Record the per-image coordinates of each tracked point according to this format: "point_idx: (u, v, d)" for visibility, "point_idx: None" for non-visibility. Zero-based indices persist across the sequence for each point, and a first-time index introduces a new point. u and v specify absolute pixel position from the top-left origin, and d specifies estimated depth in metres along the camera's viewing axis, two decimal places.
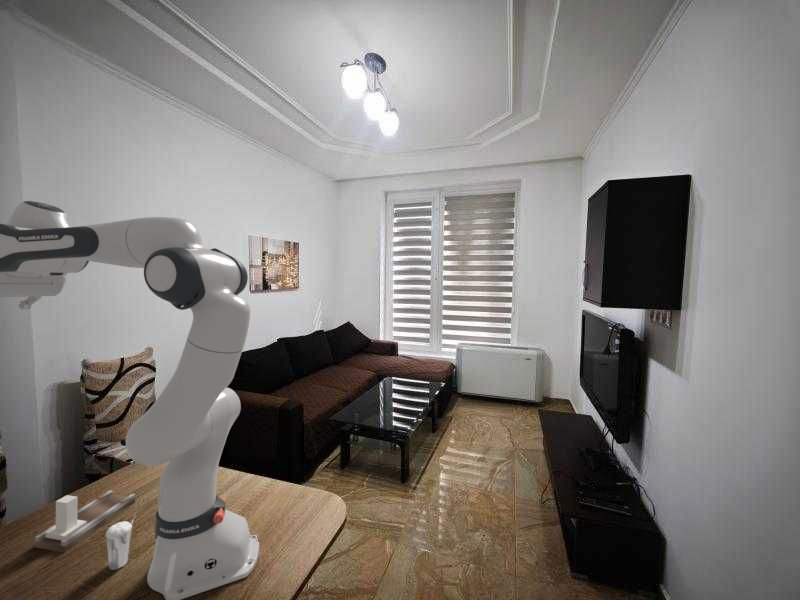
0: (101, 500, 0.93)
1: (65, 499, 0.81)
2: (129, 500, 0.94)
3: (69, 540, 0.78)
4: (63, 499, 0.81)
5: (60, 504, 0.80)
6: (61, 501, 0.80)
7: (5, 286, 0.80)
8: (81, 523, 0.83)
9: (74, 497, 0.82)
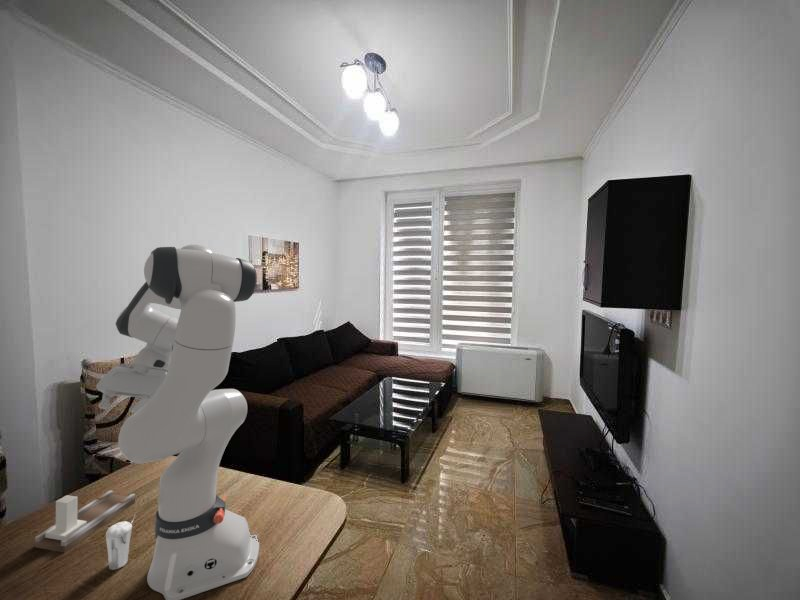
0: (101, 500, 0.93)
1: (65, 499, 0.81)
2: (129, 500, 0.94)
3: (69, 540, 0.78)
4: (63, 499, 0.81)
5: (60, 504, 0.80)
6: (61, 501, 0.80)
7: (126, 379, 0.97)
8: (81, 523, 0.83)
9: (74, 497, 0.82)
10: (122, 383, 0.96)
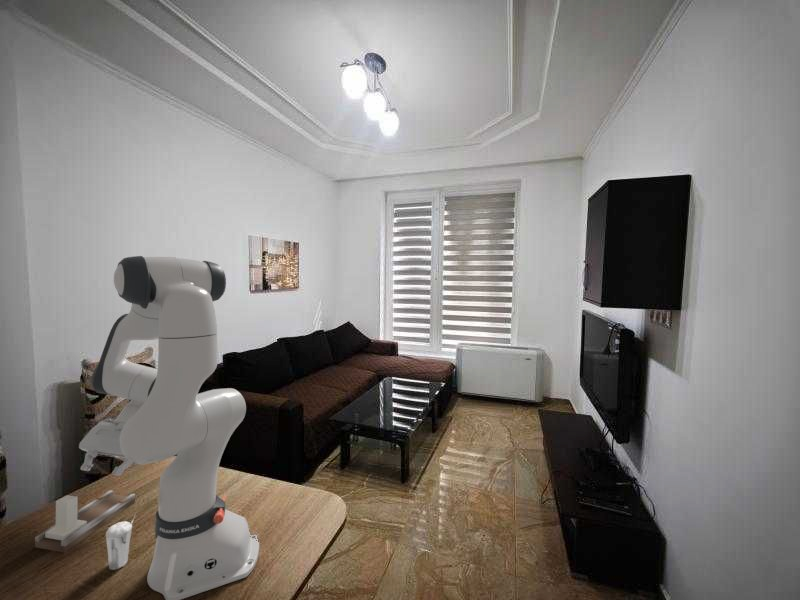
0: (101, 500, 0.93)
1: (65, 499, 0.81)
2: (129, 500, 0.94)
3: (69, 540, 0.78)
4: (63, 499, 0.81)
5: (60, 504, 0.80)
6: (61, 501, 0.80)
7: (110, 438, 0.93)
8: (81, 523, 0.83)
9: (74, 497, 0.82)
10: (106, 442, 0.92)
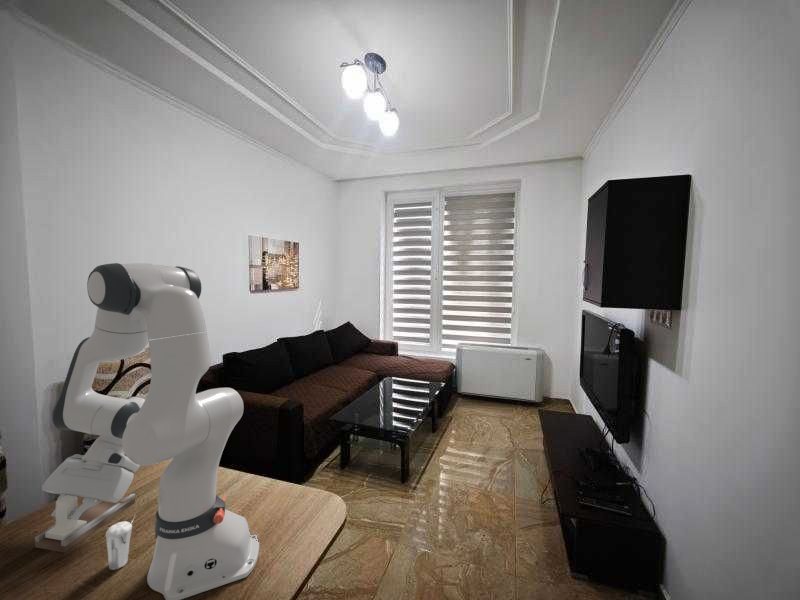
0: None
1: (65, 499, 0.81)
2: (129, 500, 0.94)
3: (69, 540, 0.78)
4: (63, 499, 0.81)
5: (60, 504, 0.80)
6: (61, 501, 0.80)
7: (76, 478, 0.85)
8: (81, 523, 0.83)
9: (74, 497, 0.82)
10: (71, 483, 0.84)
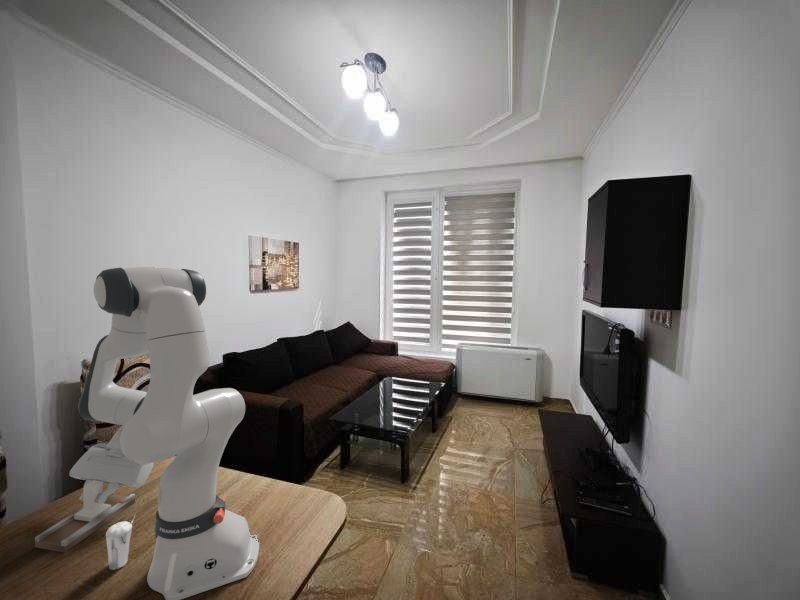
0: None
1: (92, 484, 0.87)
2: (129, 500, 0.94)
3: (69, 540, 0.78)
4: (90, 484, 0.87)
5: (88, 488, 0.86)
6: (88, 485, 0.86)
7: (101, 465, 0.91)
8: (106, 506, 0.89)
9: (100, 482, 0.88)
10: (97, 470, 0.90)
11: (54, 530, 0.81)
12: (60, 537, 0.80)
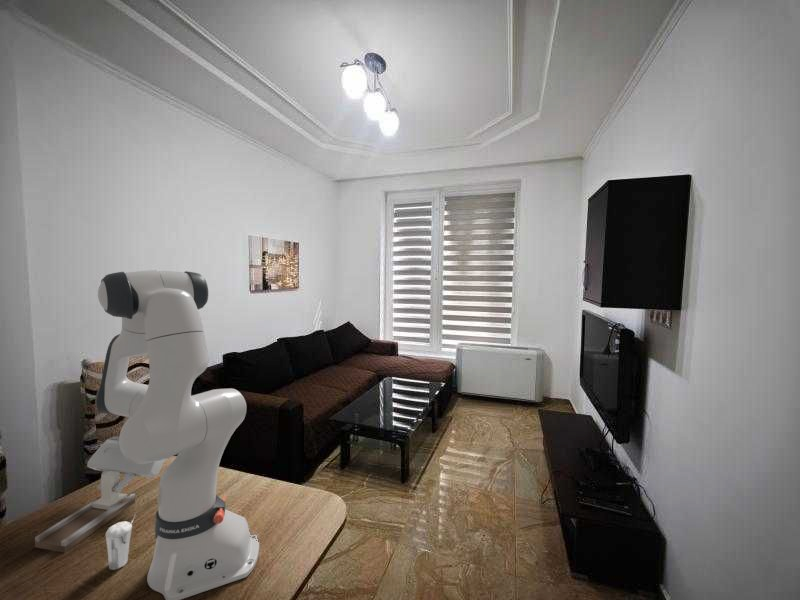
0: None
1: (109, 474, 0.91)
2: (129, 500, 0.94)
3: (69, 540, 0.78)
4: (107, 474, 0.92)
5: (105, 478, 0.91)
6: (106, 475, 0.91)
7: (117, 457, 0.96)
8: (122, 495, 0.93)
9: (117, 472, 0.92)
10: (113, 461, 0.95)
11: (54, 530, 0.81)
12: (60, 537, 0.80)
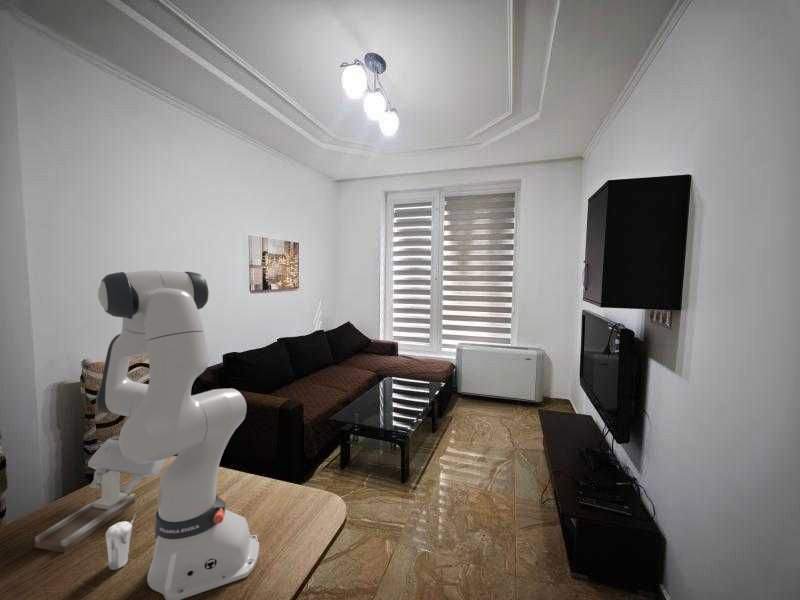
0: None
1: (110, 474, 0.92)
2: (129, 500, 0.94)
3: (69, 540, 0.78)
4: (108, 474, 0.92)
5: (106, 478, 0.91)
6: (106, 475, 0.91)
7: (118, 456, 0.96)
8: (122, 495, 0.94)
9: (117, 472, 0.93)
10: (114, 460, 0.95)
11: (54, 530, 0.81)
12: (60, 537, 0.80)
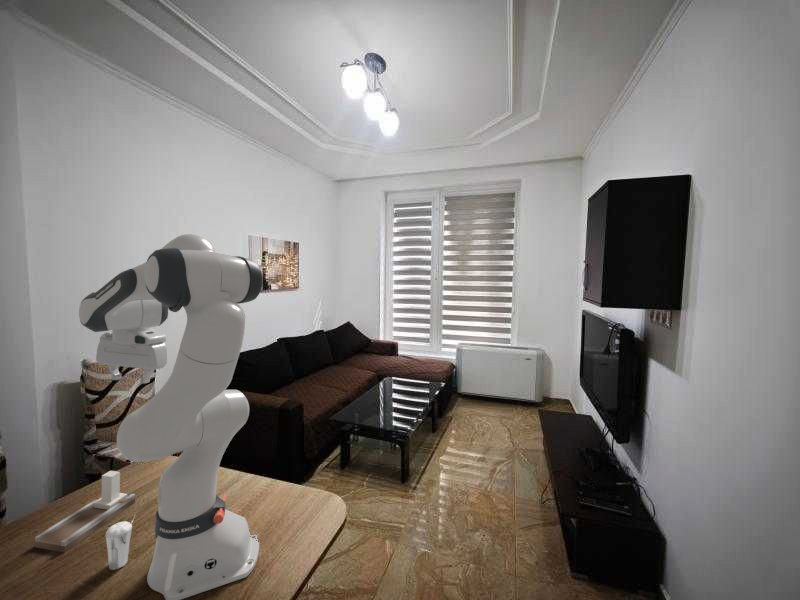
0: None
1: (110, 474, 0.92)
2: (129, 500, 0.94)
3: (69, 540, 0.78)
4: (108, 474, 0.92)
5: (106, 478, 0.91)
6: (106, 475, 0.91)
7: (119, 355, 0.97)
8: (122, 495, 0.94)
9: (117, 472, 0.93)
10: (118, 358, 0.98)
11: (54, 530, 0.81)
12: (60, 537, 0.80)
